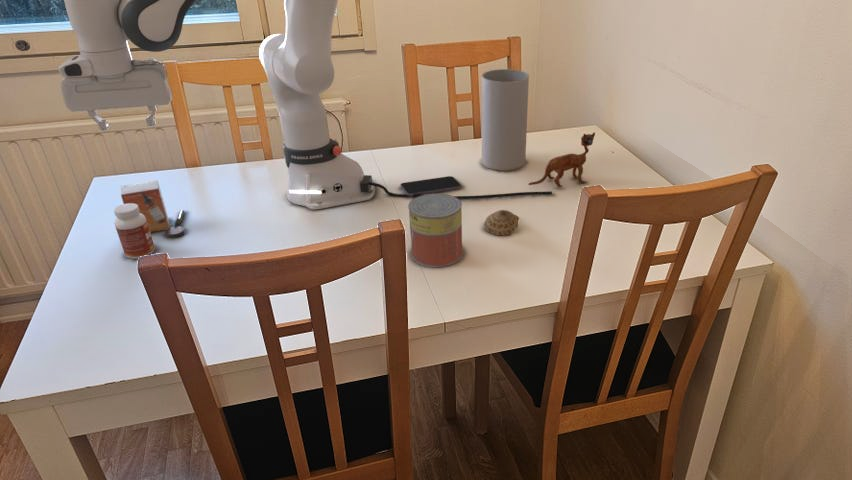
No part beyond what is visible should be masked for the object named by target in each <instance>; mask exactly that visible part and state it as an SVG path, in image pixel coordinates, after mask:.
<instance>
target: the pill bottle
mask: <svg viewBox="0 0 852 480" xmlns="http://www.w3.org/2000/svg"><path fill="white" fill-rule="evenodd" d="M113 212H114V216H115V220H114V223H113V224H114V227H115V230H116V233H117V236H118V239H119V242H120V246H121V248H122V251H123V254H124V256H125V257H126V258H128V259H131V260H139V259H140V258H139V257H140V256H144V255H149V254H150V255H152V254H153V253H154V252H155V250H156V246H155V242H154V240H153V237H152V232H150V229H149V226H148V223H147V220H146V218H145V216H144V215H143V214H141V213H139V212H140V210H139V207H138V205H137V204H134V203H128V204H123V203H122V204H120V205H118V206H115V208H114V209H113ZM150 255H149V256H150ZM138 258H139V259H138Z"/></svg>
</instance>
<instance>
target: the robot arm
mask: <svg viewBox="0 0 852 480" xmlns="http://www.w3.org/2000/svg"><path fill="white" fill-rule="evenodd" d="M63 1H64V5H65V10H66V15H67V17H68V20H69V24H70V26H71V29H72V30H73V32H74V33H75V35H76V38H77V42H78V43H77V44H78V45H77V47H78V50H79V51H78V52H79V54H78V55H76V56H74V57H70V58H69V59H66V60H65V61H64V62H62V64H60V66H59V67H58V73H59V75H60V76H61V78H62V79H61V80H60V92H61V96H62V99H63V102H64V105H65V107H66V109H68V110H69V111H70V112H72V113H78V112H87V115H88V117H90V118H91V119H92V120H93V121H94V122H95V123H97V126H98V129H99V130H100V131H108V130H109V129H110V125H109V121H108V119H103V118H102V117H101V116H100V115H99V114H98V113H99V111H101V110H103V111H104V110H115V109H116V110H118V109H129V108H141V107H147V110H148V111H149V112H150V115H148V116H146V118H145V122H146V125H147V127H156V125H157V121H156V113H157V111H158V106H166V105H169V104H171V102H172V100H173V92H172V90H171V87H170V86H171V85H170V84H169V82H168V72H167V68H166V66H165V64H164V63H162V62H161V61H159V60H156V59H155V58H154V59H153V58H150V59H134V60H133V57H132V54H131V51H130V47H129V44H128V41H129V42H131V43H132V44H133V45H134V46H136V47H137V48H139V49H141V50H143V51H145V52H151V53H155V52H156V53H160V52H164V51H167V50H169V49H171V48H172V47H173V46H175V45H176V43H177V42H178V41H179V39H180V36H181V33H182V31H183V25H184V20H185V18H186V15H187V13H188V12H189V10H190V8H191V7H192V5H193V4H194V2H196V0H63ZM338 2H339V0H284V2H283V7H284V11H285V33H276V34H272V35H269V36H267V37H266V38H265V39H264V40H263V41H262V42H261V44H260V46H259V49H258V56H259V61H260V63H261V65H262V67H263V70H264V72H265V74H266V79H267V82H268V84H269V87H270V91H271V94H272V96H273V99H274V102H275V105H276V108H277V111H278V112H277V113H278V116H279V121H280V127H281V131H282V137H283V148H282V151H283V157H284V158H283V159H284V162H285V165H286V167H287V191H286V199H287V200H288V201H289V202H291V203H292V204H295V205H298V206H302V207H306V208H308V209H310V210H315V211H316V210H321V209H327V208H333V207H337V206H343V205H349V204H354V203H359V202H365V201H370V200H371V199H372V198H373V197H374V196H375V194H376V187H377V188H379V189H382V190H383V191H384V193H385V194H386V195H389V196H391V197H398V198H410V197H412V198H413V197H414V198H416V197H418V196H421V195H425V194H414V195H413V196H408V195H407V194H406V193H399V194H398V193H393V192H391V191H389V190H388V189H387V187H385V185H383V184H380V183H376V182H374V181H373V176H372V175H371V174H368V175H367V174H365V173H364V170H363V168H362V166H361V165H360V163H358V161H356V160H354V159H353V158H351V157H348V156H347V155H345V154H343V153H342V147H341V146H340V145H339V142H338V140H337V138H334V139H333V138H330V130H329V123H328V122H329V121H328V116H327V110H326V107H325V105H324V103H323V101H322V99H321V97H320V94H322V93H324V92H326V91H327V90H328V89H329V88H330V87H331V86H332V84H333V81H334V79H335V67H334V64H333V60H332V38H333V37H332V36H333V35H332V34H333V24H334V19H335V14H336V10H337V6H338ZM540 195H542V196H543V195H553V191H523V192H521V191H520V192H510V193H508V192H507V193H495V194H482V195H453V196H454V197H456V198H458V199H459V200H474V199H475V200H476V199H492V198H504V197H506V198H507V197H517V196H518V197H519V196H540Z"/></svg>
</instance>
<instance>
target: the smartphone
mask: <svg viewBox="0 0 852 480" xmlns="http://www.w3.org/2000/svg"><path fill="white" fill-rule="evenodd" d="M461 184H462V183H461ZM461 184H460V182H459V181H458V180H457V179H456V177H454V176H452V175H451V176H450V175H448V176H442V177H435V178H427V179H420V180H413V181H407V182H406V181H405V182H402V183H400V188H401V189H402V191H403V192H404V194H407V195H408V196H413V195H414V194H424V195H426V194H434V193H441V192H447V191H454V190H455V191H456V190H460V189H461V188H462V187H461V186H462V185H461Z"/></svg>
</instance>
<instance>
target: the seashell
mask: <svg viewBox="0 0 852 480" xmlns="http://www.w3.org/2000/svg"><path fill="white" fill-rule="evenodd" d="M519 220H520V217H519V216H518V215H516V214H515V213H513V212H512V211H509V210H507V209H500V210H497V211H495V212H493V213H490V214H489V215H488V216H486V218H485V220H484V224H483V227H484V229H485V231H486V232H488V233H489V234H491V235H494V236H506V235H509V234H512V233H514V232H515V231H516V230H517V229H518V228H519Z"/></svg>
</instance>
